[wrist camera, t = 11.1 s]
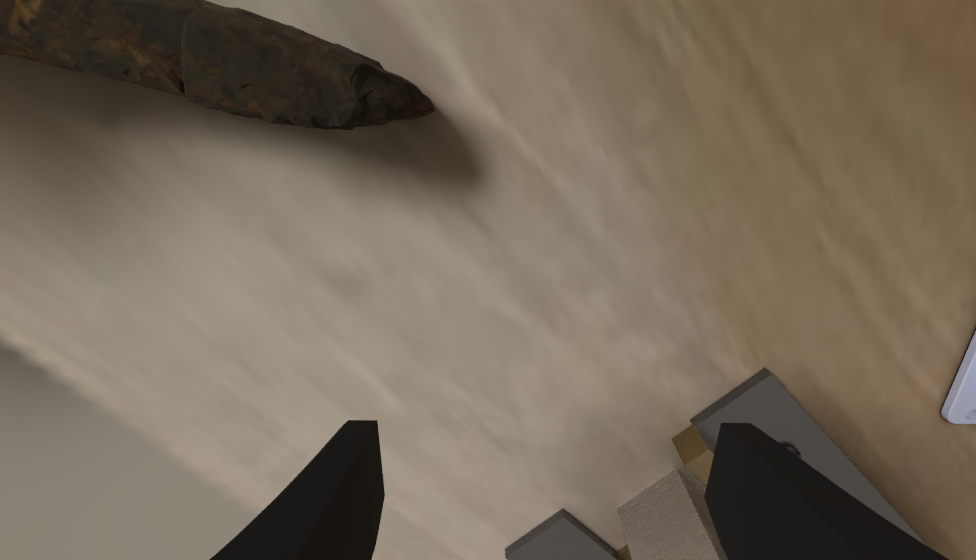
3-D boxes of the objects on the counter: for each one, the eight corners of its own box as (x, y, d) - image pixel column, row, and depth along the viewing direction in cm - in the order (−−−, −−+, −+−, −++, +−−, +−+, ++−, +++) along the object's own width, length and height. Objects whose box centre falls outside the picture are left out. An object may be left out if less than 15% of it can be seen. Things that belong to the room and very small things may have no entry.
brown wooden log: (-154, 13, 16) (-390, -8, 12) (-182, -136, 14) (-466, -222, 10) (416, 182, 18) (393, 218, 14) (444, 68, 16) (428, 68, 12)
